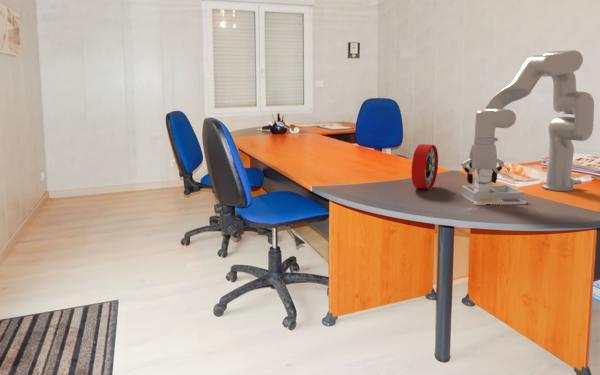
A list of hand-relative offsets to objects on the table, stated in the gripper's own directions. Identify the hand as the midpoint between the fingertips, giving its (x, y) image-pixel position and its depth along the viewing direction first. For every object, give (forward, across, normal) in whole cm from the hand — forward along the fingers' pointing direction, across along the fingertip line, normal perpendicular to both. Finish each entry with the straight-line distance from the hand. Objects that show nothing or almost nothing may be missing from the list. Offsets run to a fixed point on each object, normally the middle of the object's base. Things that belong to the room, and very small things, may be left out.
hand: (481, 182), depth 203 cm
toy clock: (+7, +18, -21) cm, 28 cm away
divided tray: (+7, -4, +2) cm, 8 cm away
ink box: (+6, 0, 0) cm, 6 cm away
